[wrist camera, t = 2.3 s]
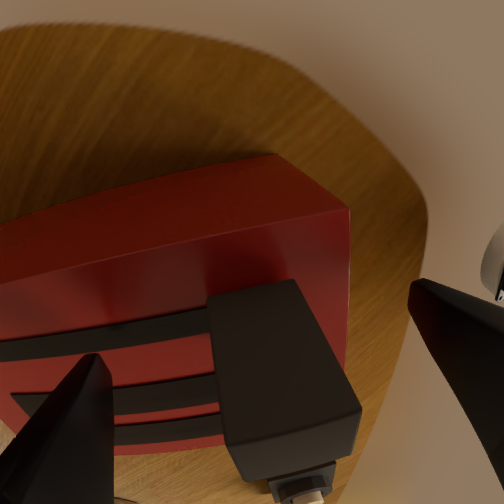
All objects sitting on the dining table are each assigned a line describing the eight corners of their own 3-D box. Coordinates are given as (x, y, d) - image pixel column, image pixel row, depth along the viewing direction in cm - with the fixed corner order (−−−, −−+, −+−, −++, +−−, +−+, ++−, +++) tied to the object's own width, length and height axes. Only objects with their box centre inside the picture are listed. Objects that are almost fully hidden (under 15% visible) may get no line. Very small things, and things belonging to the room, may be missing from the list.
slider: (294, 276, 9) (364, 409, 5) (298, 331, 10) (352, 455, 6) (205, 295, 8) (224, 446, 5) (220, 349, 9) (243, 484, 5)
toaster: (277, 153, 15) (352, 209, 8) (293, 314, 20) (340, 417, 13) (-4, 225, 14) (-84, 308, 7) (63, 356, 19) (35, 455, 12)
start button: (320, 487, 30) (324, 498, 28) (319, 494, 32) (323, 505, 30) (291, 495, 30) (294, 506, 28) (292, 502, 31) (295, 513, 30)
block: (332, 452, 31) (341, 475, 28) (328, 478, 36) (335, 498, 33) (264, 470, 31) (271, 495, 28) (272, 493, 35) (278, 513, 32)
